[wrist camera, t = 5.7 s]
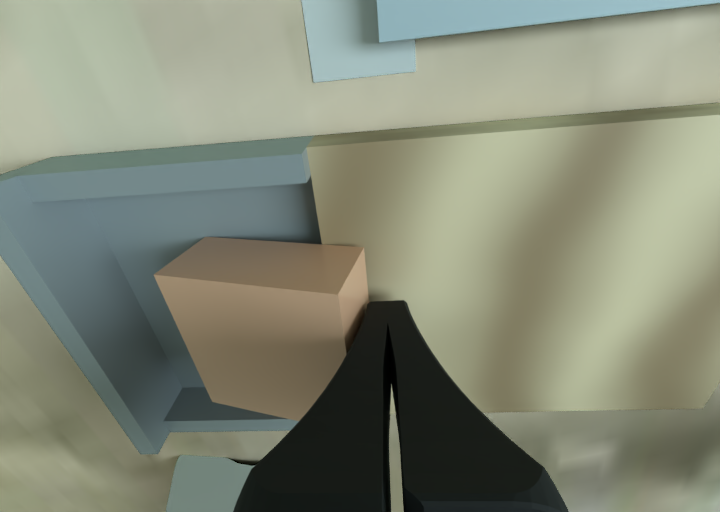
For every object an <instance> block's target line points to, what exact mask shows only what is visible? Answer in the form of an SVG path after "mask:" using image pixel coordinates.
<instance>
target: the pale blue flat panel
mask: <svg viewBox="0 0 720 512" xmlns="http://www.w3.org/2000/svg"><path fill="white" fill-rule="evenodd" d="M301 1H302V8H303V14H304V21H305V28H306V35H307V41H308V48H309V55H310V61H311V68H312V75H313V82H314V83H315V82H324V81H333V80H342V79H351V78H360V77H369V76H378V75H388V74H397V73H406V72H415V71H416V64H415V39H420V38H429V37H437V36H446V35H454V34H463V33H472V32H480V31H489V30H497V29H506V28H514V27H523V26H531V25H540V24H548V23H557V22H565V21H574V20H582V19H591V18H599V17H608V16H617V15H625V14H634V13H642V12H651V11H659V10H668V9H676V8H685V7H693V6H702V5H710V4H719V3H720V0H301Z"/></svg>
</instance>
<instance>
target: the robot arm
mask: <svg viewBox="0 0 720 512" xmlns="http://www.w3.org/2000/svg"><path fill="white" fill-rule="evenodd" d="M391 384H392V391H393V398H394V405H395V412H396V419H397V426H398V433H399V442H400V454H401V471H402V488H403V506H404V512H569V511H568V509H567V507H566V505H565V503H564V501H563V499H562V497H561V495H560V494H559V492H558V490H557V488H556V486H555V484H554V483H553V481H552V479H551V478H550V476H549V474H548V473H547V471H546V470H545V468H544V467H543V466H541V465H540V464H539V463H538V462H537V461H535V460H534V459H533V458H532V457H530V456H529V455H528V454H527V453H525V452H524V451H523V450H522V449H521V448H520V447H518V446H517V445H516V444H515V443H514V442H513V441H511V440H510V439H509V438H508V437H507V436H506V435H505V434H504V433H503V432H502V431H501V430H499V429H498V428H497V427H496V426H495V425H494V424H493V423H492V422H491V421H490V420H489V419H488V418H487V417H486V416H485V415H484V414H483V413H482V412H481V411H480V410H479V409H478V408H477V407H476V406H475V405H474V404H473V403H472V402H471V401H470V400H469V398H468V397H467V396H466V395H465V394H464V393H463V392H462V390H461V389H460V388H459V387H458V386H457V385H456V383H455V382H454V381H453V380H452V379H451V377H450V376H449V375H448V373H447V372H446V371H445V370H444V368H443V367H442V365H441V364H440V363H439V361H438V360H437V358H436V357H435V355H434V354H433V352H432V351H431V349H430V348H429V346H428V345H427V343H426V341H425V340H424V338H423V336H422V335H421V333H420V331H419V329H418V327H417V325H416V323H415V321H414V319H413V317H412V315H411V313H410V310H409V307H408V304H407V302H406V301H404V300H395V301H372V302H369V303H368V304H367V309H366V312H365V315H364V318H363V321H362V323H361V326H360V328H359V331H358V333H357V335H356V337H355V339H354V341H353V343H352V345H351V347H350V349H349V351H348V353H347V355H346V356H345V358H344V360H343V362H342V364H341V365H340V367H339V369H338V370H337V372H336V373H335V375H334V376H333V378H332V379H331V381H330V382H329V384H328V385H327V387H326V388H325V390H324V391H323V392H322V394H321V395H320V396H319V398H318V399H317V400H316V402H315V403H314V404H313V405H312V407H311V408H310V409H309V410H308V412H307V413H306V414H305V415H304V416H303V417H302V418H301V420H300V421H299V422H298V423H297V424H296V425H295V426H294V427H293V428H292V430H291V431H290V432H289V433H288V434H287V435H286V436H285V437H284V438H283V439H282V440H281V441H280V442H279V443H278V444H277V445H276V446H275V447H274V448H273V449H272V450H271V451H270V452H269V453H268V454H267V455H266V456H265V457H264V458H263V459H262V460H261V461H259V462H258V463H257V464H256V465H255V466H254V467H253V468H252V469H251V471H250V473H249V475H248V477H247V479H246V481H245V483H244V485H243V488H242V490H241V492H240V495H239V497H238V499H237V502H236V505H235V507H234V511H233V512H391V494H390V467H389V424H390V404H391Z"/></svg>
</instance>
